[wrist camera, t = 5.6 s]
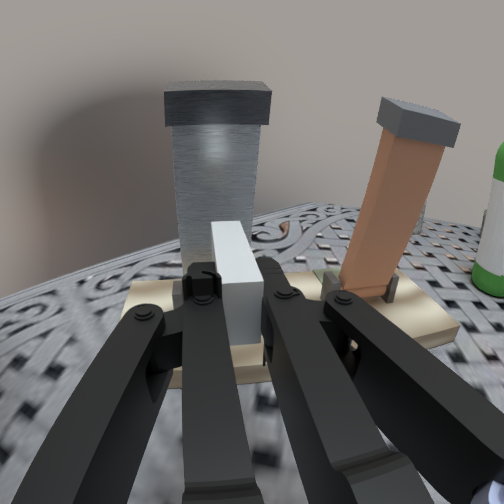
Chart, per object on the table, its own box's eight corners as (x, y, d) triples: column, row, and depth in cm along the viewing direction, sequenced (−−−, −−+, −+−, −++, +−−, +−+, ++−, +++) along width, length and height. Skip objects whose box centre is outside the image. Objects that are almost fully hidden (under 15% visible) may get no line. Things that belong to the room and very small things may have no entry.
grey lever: (248, 317, 27) (271, 90, 15) (185, 321, 27) (164, 91, 14) (244, 293, 29) (262, 81, 17) (185, 297, 29) (169, 82, 16)
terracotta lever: (385, 301, 30) (460, 124, 17) (337, 308, 29) (403, 108, 16) (375, 282, 32) (438, 110, 19) (328, 286, 31) (381, 96, 18)
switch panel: (453, 341, 26) (470, 299, 24) (112, 388, 21) (94, 340, 19) (390, 278, 39) (397, 243, 37) (135, 296, 34) (128, 256, 32)
